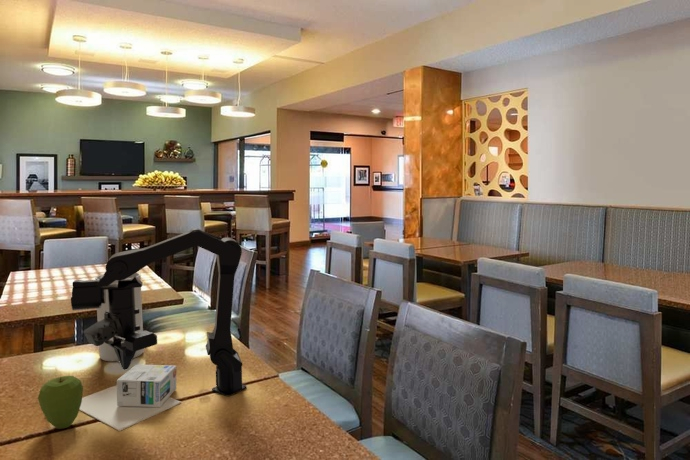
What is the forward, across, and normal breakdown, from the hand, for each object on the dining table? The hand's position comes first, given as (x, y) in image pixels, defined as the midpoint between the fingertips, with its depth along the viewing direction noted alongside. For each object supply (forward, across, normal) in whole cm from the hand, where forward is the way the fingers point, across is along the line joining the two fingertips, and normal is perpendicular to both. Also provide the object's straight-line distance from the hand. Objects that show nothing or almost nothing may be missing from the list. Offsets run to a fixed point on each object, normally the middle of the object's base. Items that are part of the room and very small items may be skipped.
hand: (125, 369), depth 117 cm
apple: (+9, -2, -14) cm, 17 cm away
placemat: (+9, -1, 0) cm, 9 cm away
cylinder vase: (+9, -32, +18) cm, 38 cm away
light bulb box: (+5, -3, +2) cm, 6 cm away
